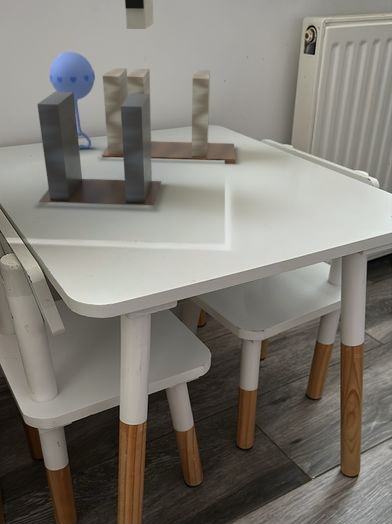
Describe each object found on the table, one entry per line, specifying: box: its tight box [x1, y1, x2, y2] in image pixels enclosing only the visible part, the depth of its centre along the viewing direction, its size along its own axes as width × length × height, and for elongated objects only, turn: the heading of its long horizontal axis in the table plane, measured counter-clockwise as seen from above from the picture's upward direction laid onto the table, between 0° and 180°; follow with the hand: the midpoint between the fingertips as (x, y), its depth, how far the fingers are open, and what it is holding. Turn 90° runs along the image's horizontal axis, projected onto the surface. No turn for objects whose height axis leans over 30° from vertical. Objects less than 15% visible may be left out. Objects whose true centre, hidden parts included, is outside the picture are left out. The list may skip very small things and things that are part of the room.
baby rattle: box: [48, 51, 96, 150], centre depth 111 cm, size 9×9×18 cm
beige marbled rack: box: [101, 67, 236, 165], centre depth 110 cm, size 26×12×15 cm, turn 88°
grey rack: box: [36, 91, 162, 206], centre depth 88 cm, size 18×12×15 cm, turn 88°
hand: (139, 6), depth 89 cm, fingers closed on white book, 10 cm apart
